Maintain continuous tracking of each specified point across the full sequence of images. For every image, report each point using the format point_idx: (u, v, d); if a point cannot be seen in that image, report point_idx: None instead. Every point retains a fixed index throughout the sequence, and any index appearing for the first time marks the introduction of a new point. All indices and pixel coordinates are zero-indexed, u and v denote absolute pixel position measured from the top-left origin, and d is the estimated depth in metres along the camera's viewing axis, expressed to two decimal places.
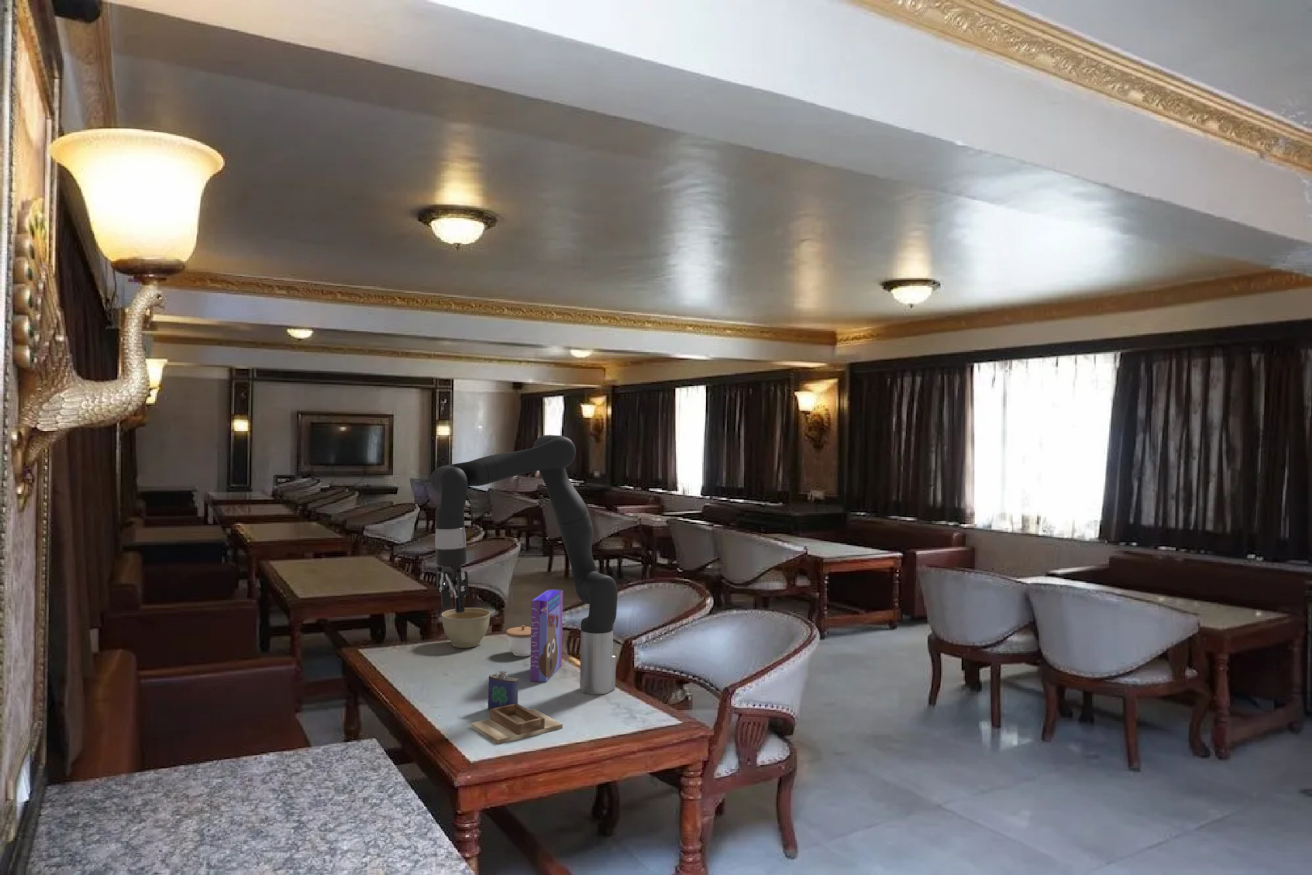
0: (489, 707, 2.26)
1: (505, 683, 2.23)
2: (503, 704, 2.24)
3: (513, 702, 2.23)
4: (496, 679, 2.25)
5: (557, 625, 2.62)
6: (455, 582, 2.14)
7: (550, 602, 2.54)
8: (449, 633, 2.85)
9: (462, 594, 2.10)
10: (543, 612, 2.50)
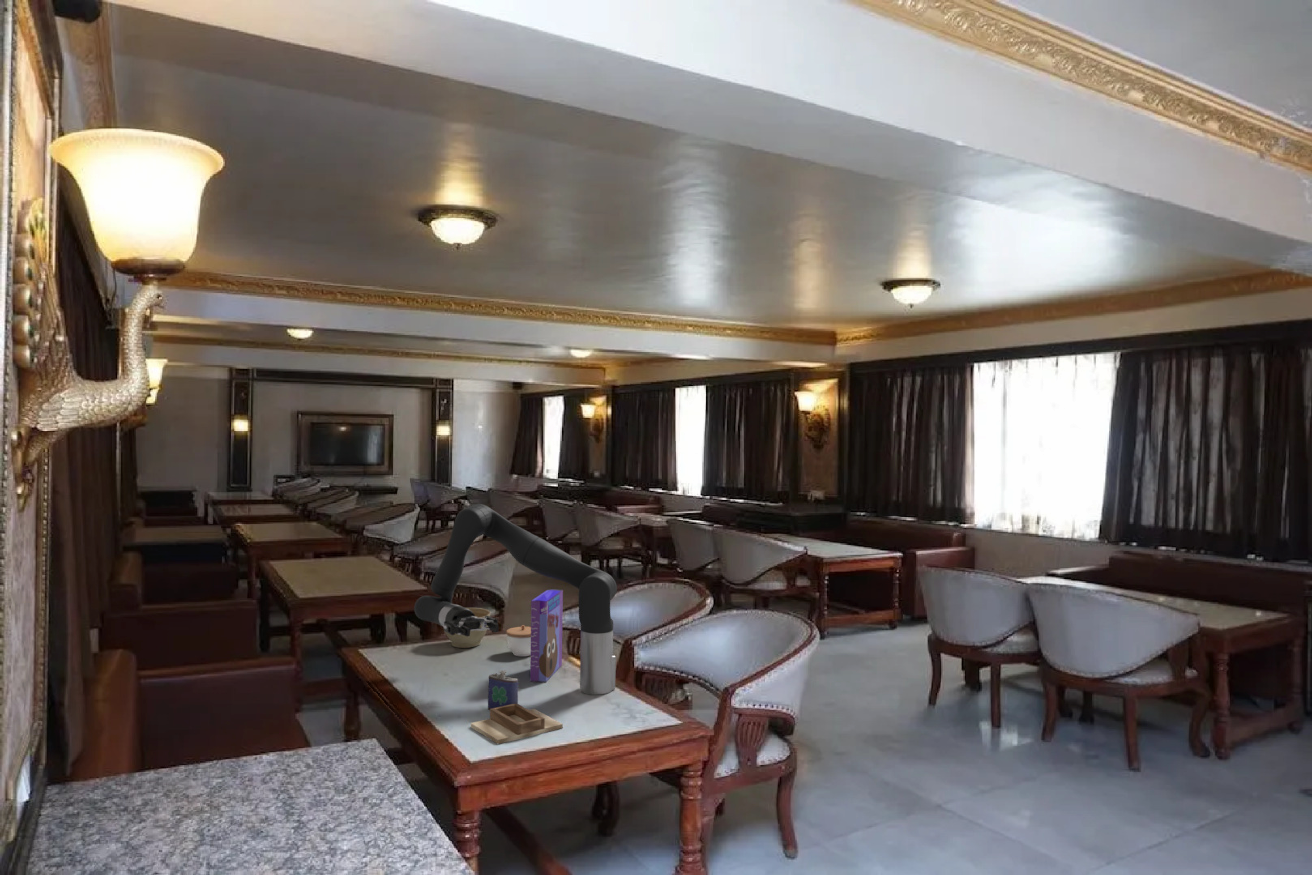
0: (489, 707, 2.26)
1: (505, 683, 2.23)
2: (503, 704, 2.24)
3: (513, 702, 2.23)
4: (496, 679, 2.25)
5: (557, 625, 2.62)
6: None
7: (550, 602, 2.54)
8: None
9: (451, 631, 2.33)
10: (543, 612, 2.50)
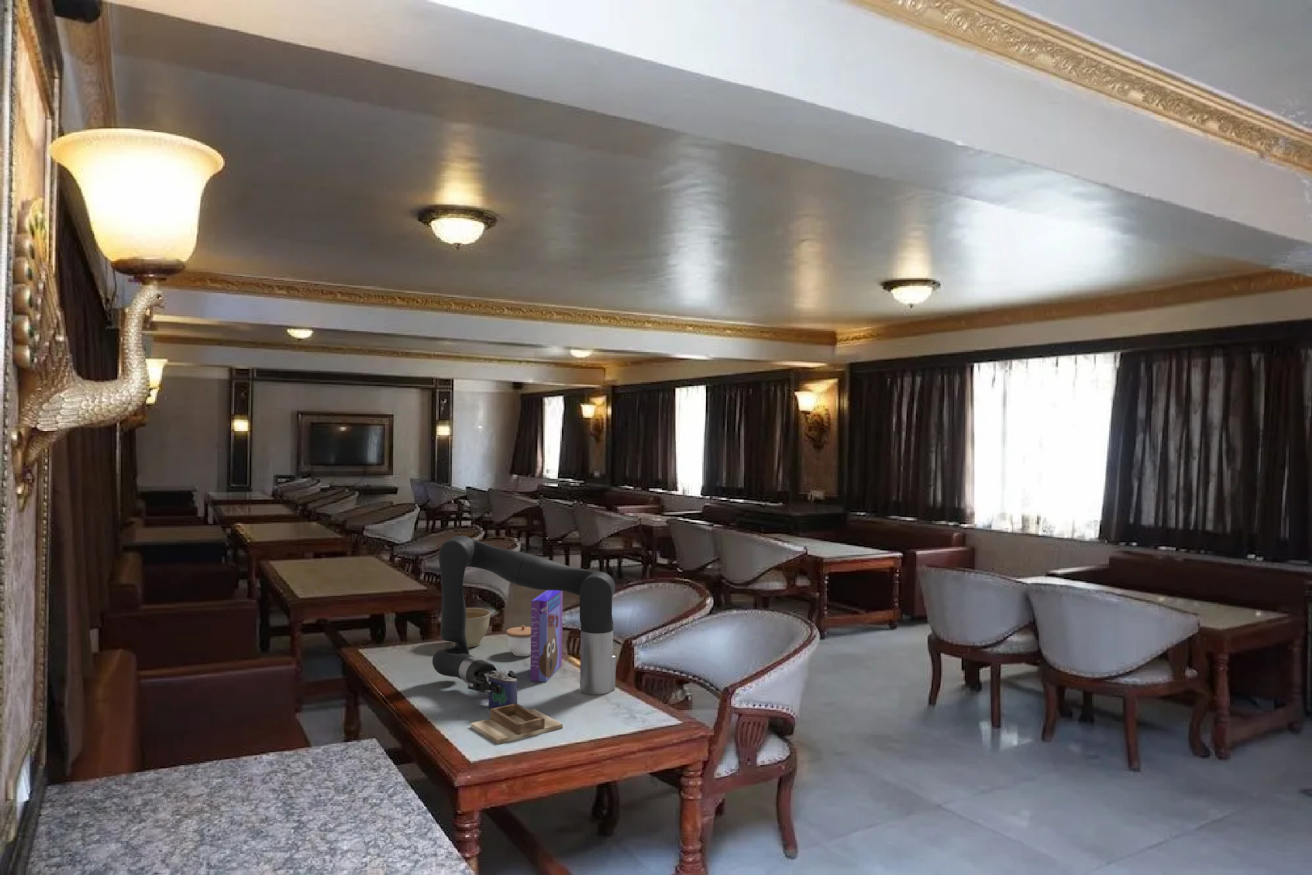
0: (489, 706, 2.26)
1: (504, 683, 2.23)
2: (503, 704, 2.23)
3: (512, 702, 2.23)
4: (495, 679, 2.24)
5: (557, 625, 2.62)
6: None
7: (550, 602, 2.54)
8: None
9: (481, 689, 2.24)
10: (543, 612, 2.50)
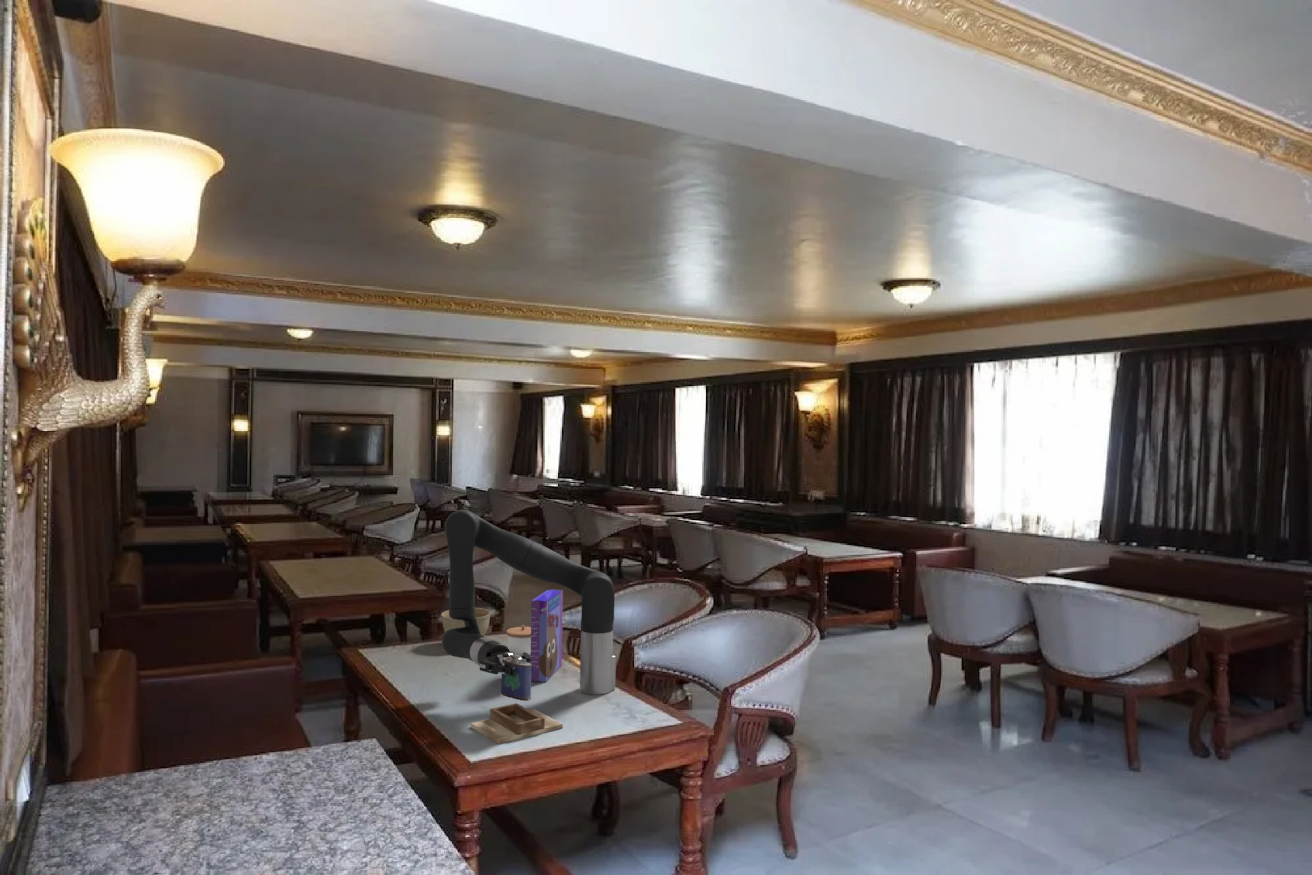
0: (501, 691, 2.14)
1: (518, 668, 2.11)
2: (515, 689, 2.11)
3: (525, 688, 2.10)
4: (509, 663, 2.12)
5: (557, 625, 2.62)
6: None
7: (550, 602, 2.54)
8: None
9: (494, 670, 2.12)
10: (543, 612, 2.50)
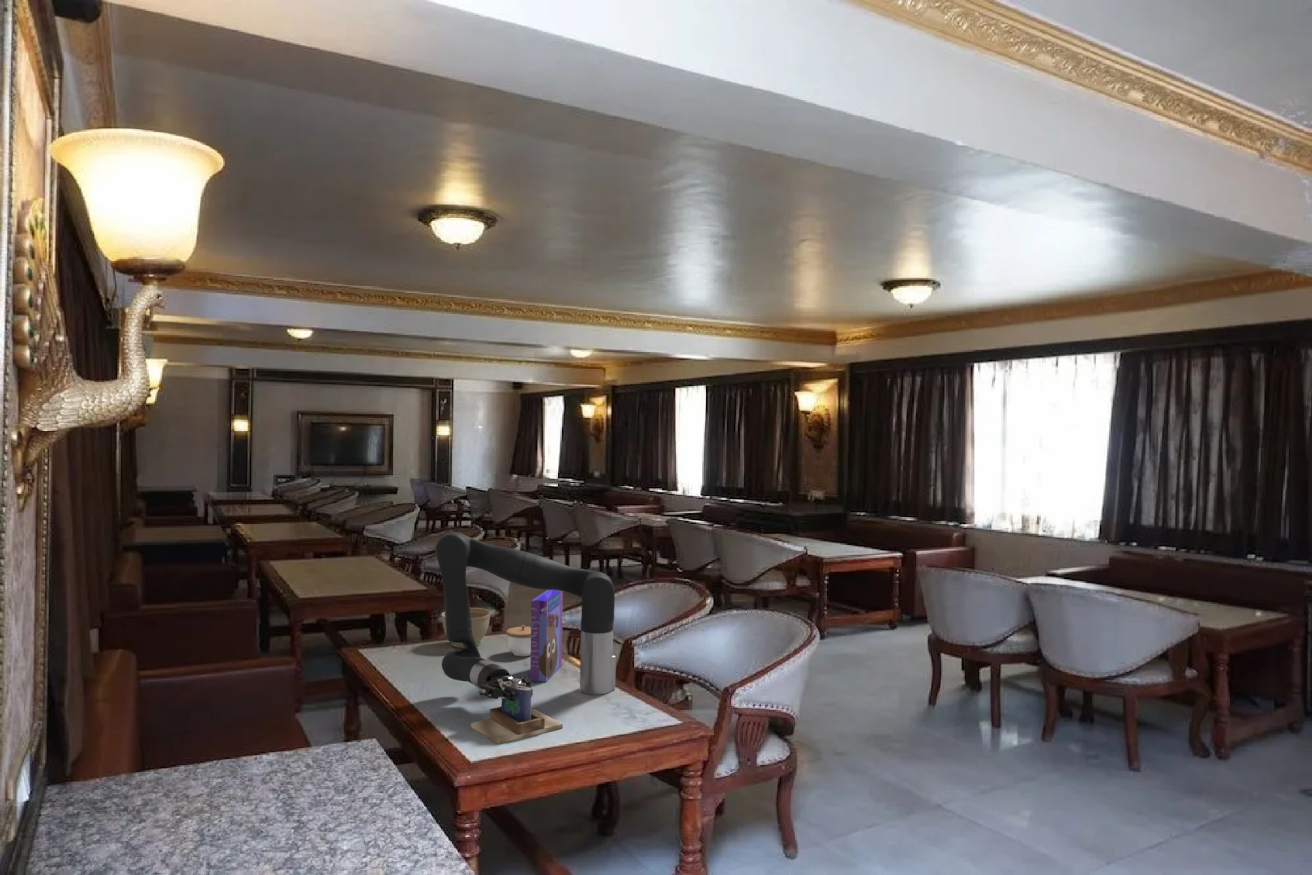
0: None
1: (518, 692, 2.11)
2: (515, 714, 2.11)
3: (526, 713, 2.10)
4: (509, 687, 2.12)
5: (557, 625, 2.62)
6: None
7: (550, 602, 2.54)
8: None
9: (494, 695, 2.12)
10: (543, 612, 2.50)
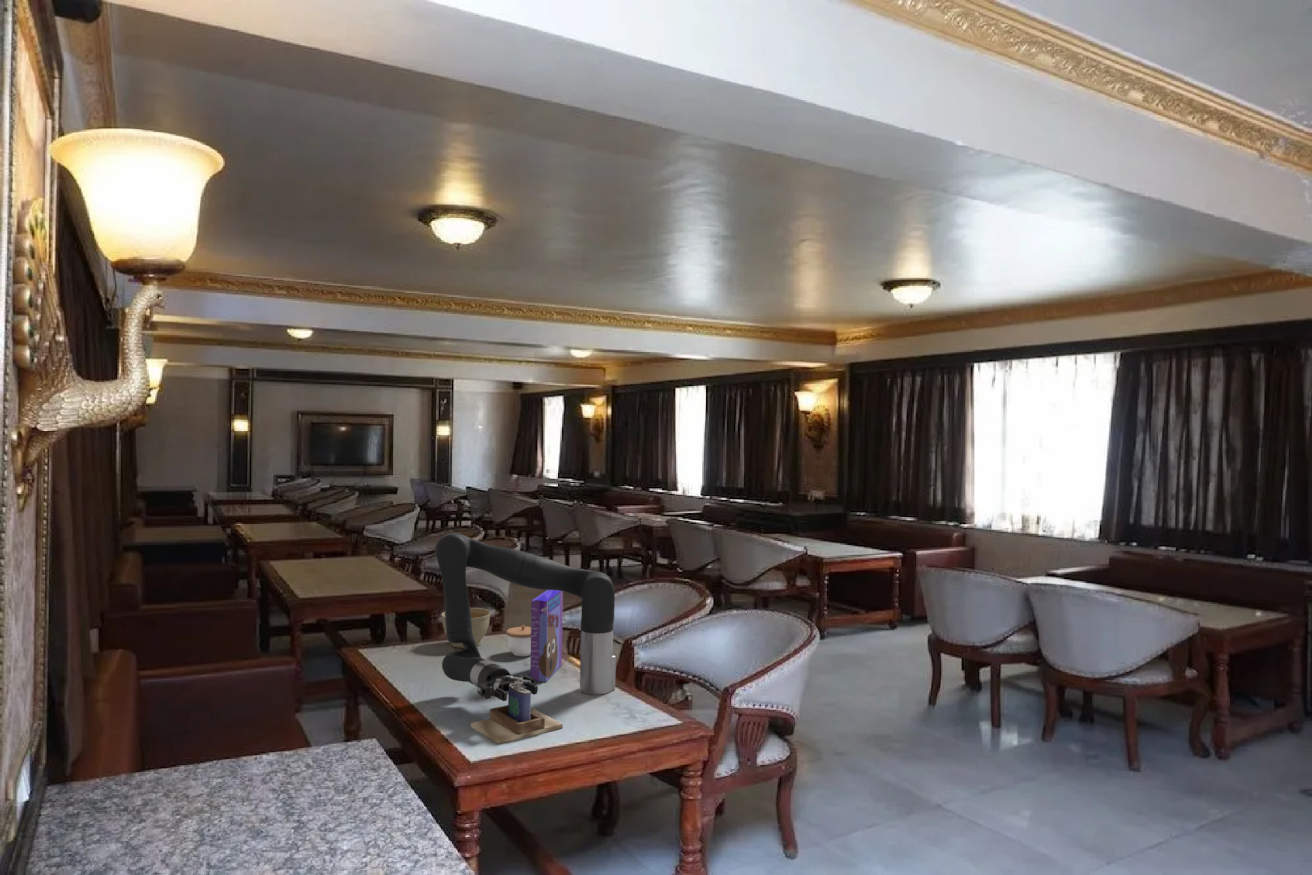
0: None
1: (517, 694, 2.11)
2: (516, 716, 2.12)
3: (524, 716, 2.10)
4: (512, 689, 2.13)
5: (557, 625, 2.62)
6: None
7: (550, 602, 2.54)
8: None
9: (485, 695, 2.11)
10: (543, 612, 2.50)
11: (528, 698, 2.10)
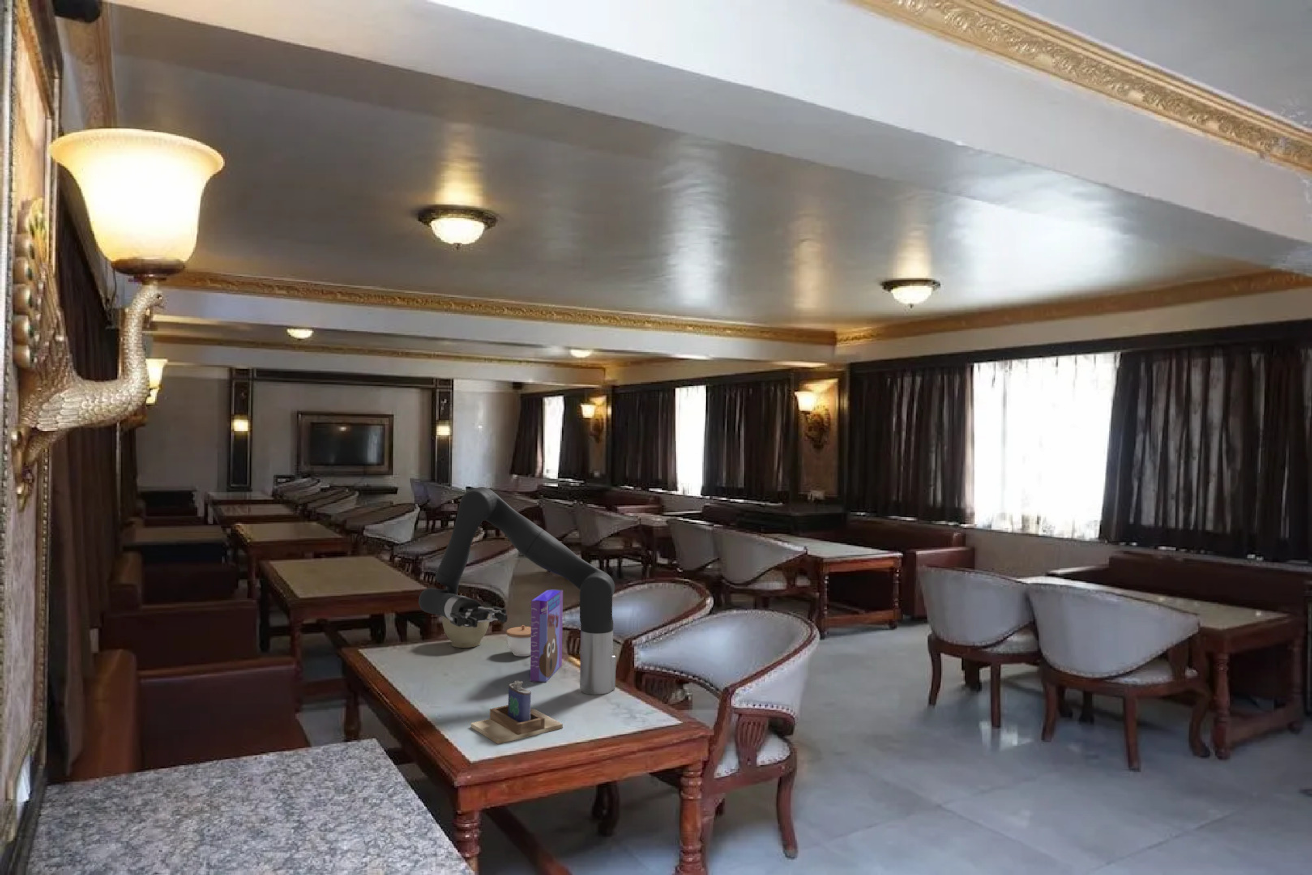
0: None
1: (517, 694, 2.11)
2: (516, 716, 2.12)
3: (524, 716, 2.10)
4: (512, 689, 2.13)
5: (557, 625, 2.62)
6: None
7: (550, 602, 2.54)
8: (449, 633, 2.85)
9: (457, 623, 2.24)
10: (543, 612, 2.50)
11: (528, 698, 2.10)
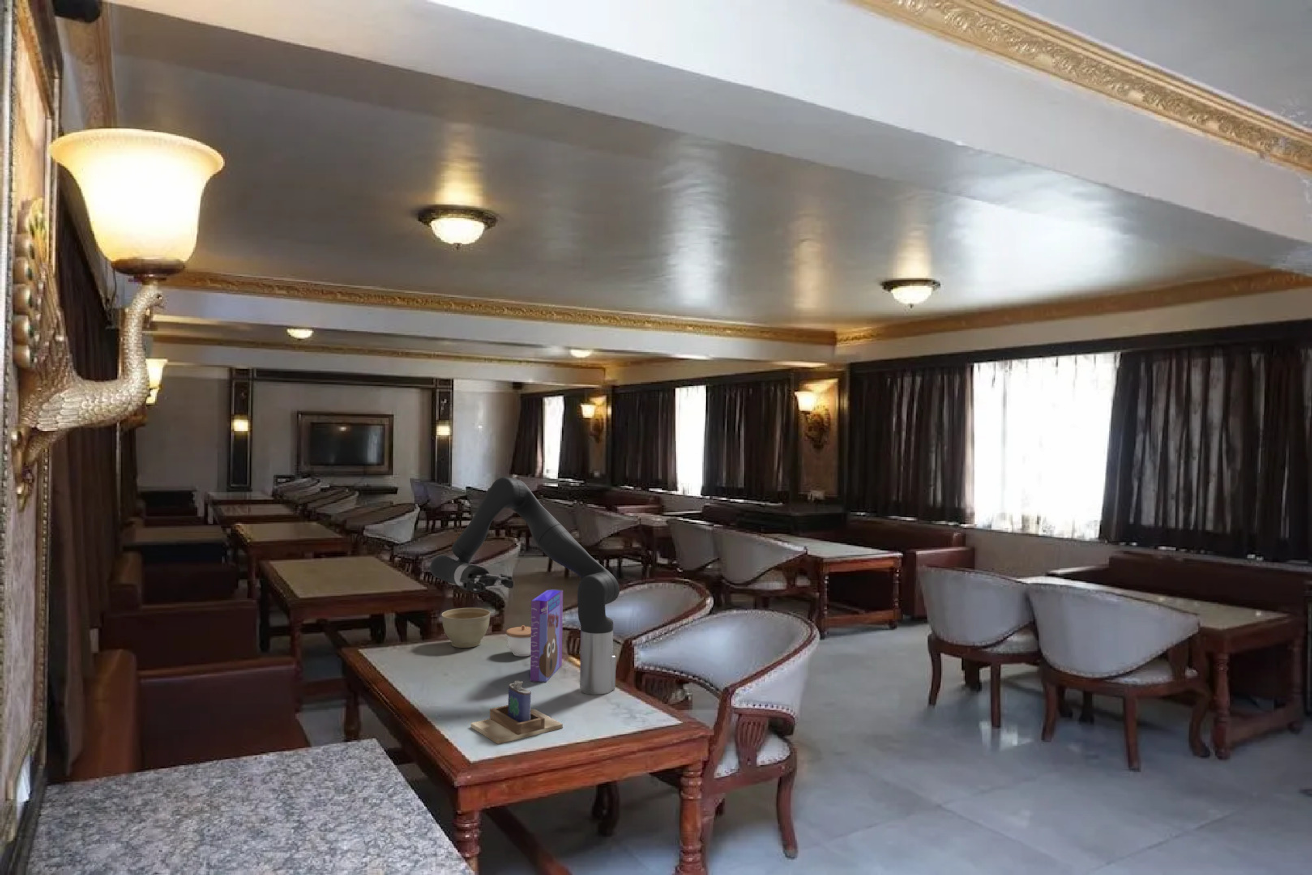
0: None
1: (517, 694, 2.11)
2: (516, 716, 2.12)
3: (524, 716, 2.10)
4: (512, 689, 2.13)
5: (557, 625, 2.62)
6: None
7: (550, 602, 2.54)
8: (449, 633, 2.85)
9: (467, 587, 2.39)
10: (543, 612, 2.50)
11: (528, 698, 2.10)
